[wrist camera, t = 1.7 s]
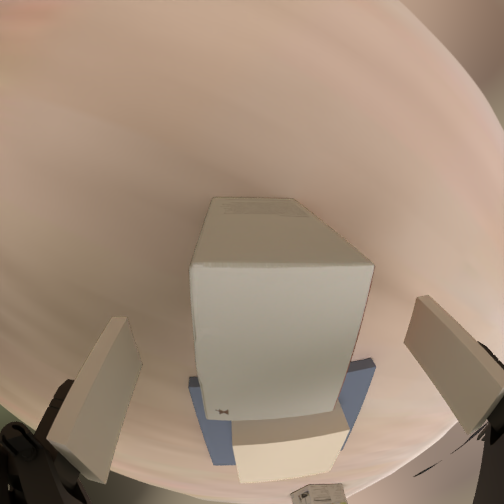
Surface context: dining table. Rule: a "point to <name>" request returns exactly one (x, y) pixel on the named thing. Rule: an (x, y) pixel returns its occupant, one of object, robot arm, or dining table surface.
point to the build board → (225, 427)
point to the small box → (273, 309)
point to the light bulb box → (320, 495)
